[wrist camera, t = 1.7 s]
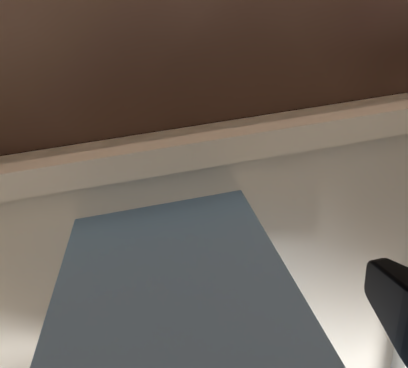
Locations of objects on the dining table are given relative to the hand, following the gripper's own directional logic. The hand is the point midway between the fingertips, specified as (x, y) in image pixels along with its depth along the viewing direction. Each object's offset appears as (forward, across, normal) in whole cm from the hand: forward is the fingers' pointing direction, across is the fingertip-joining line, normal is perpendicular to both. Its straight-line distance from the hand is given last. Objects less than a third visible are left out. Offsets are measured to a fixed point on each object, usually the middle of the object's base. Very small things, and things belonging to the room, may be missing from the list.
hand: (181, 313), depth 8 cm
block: (+2, 0, 0) cm, 2 cm away
